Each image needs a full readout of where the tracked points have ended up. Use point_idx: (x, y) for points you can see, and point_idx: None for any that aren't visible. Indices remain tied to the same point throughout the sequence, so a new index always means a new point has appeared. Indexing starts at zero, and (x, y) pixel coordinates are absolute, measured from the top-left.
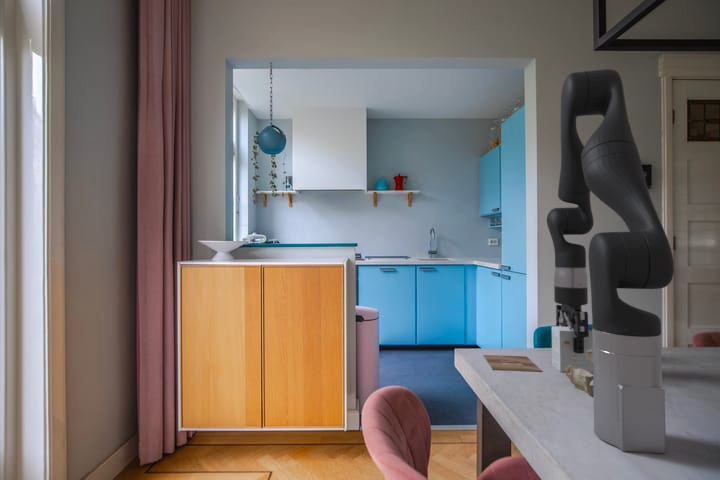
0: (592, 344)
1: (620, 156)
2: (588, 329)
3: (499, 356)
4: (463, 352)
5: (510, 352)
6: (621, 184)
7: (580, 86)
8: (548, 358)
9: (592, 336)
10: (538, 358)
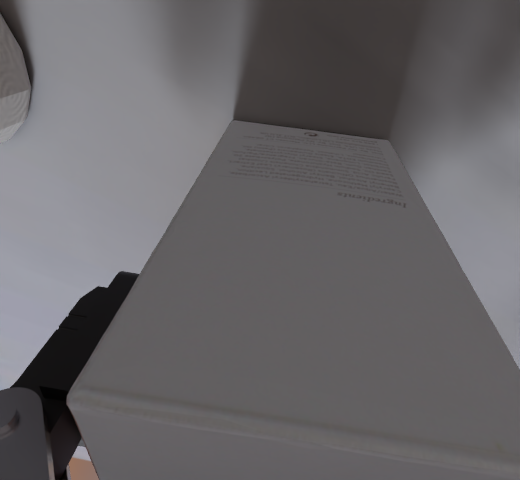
0: (464, 275)
1: None
2: (391, 456)
3: None
4: (78, 453)
5: (7, 340)
6: None
7: None
8: (62, 232)
9: (516, 366)
10: (81, 279)
